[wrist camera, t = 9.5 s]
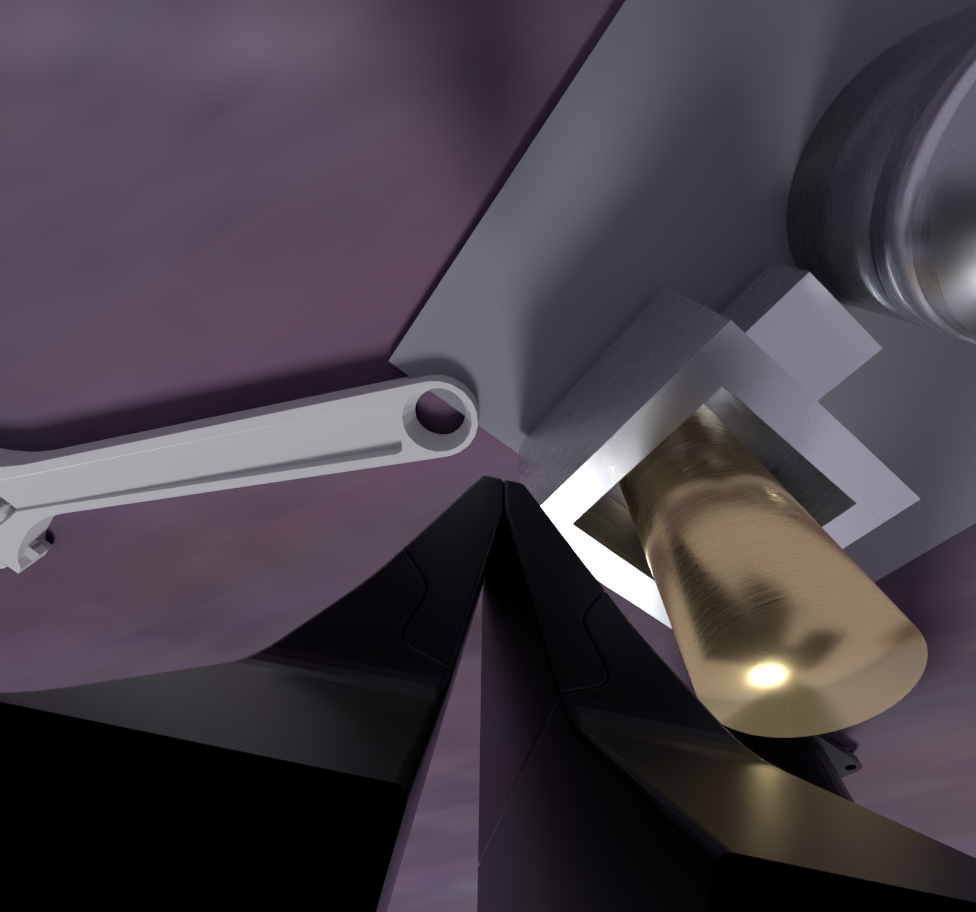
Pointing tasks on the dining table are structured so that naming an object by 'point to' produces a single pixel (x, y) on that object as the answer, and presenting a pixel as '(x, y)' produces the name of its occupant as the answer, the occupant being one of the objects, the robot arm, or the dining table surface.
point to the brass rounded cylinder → (764, 592)
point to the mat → (694, 235)
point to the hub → (897, 184)
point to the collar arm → (731, 397)
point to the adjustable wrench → (222, 456)
